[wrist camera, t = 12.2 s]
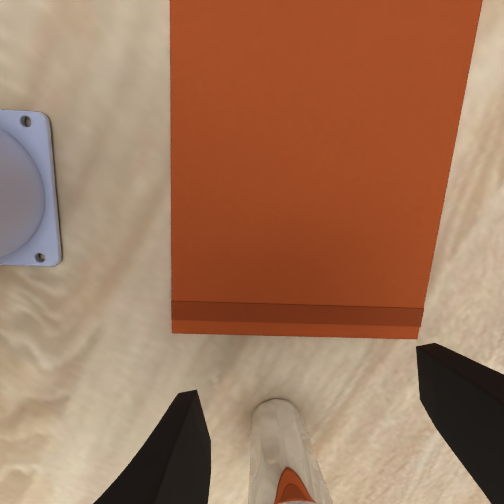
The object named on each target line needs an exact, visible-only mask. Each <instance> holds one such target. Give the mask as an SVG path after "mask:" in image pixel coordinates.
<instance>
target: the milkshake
mask: <svg viewBox="0 0 504 504" xmlns="http://www.w3.org/2000/svg"><path fill="white" fill-rule="evenodd" d="M248 504H333V501H332V499H331V496H330V494H329V491H328V488H327V486H326V483H325V481H324V478H323V475H322V473H321V470H320V467H319V464H318V461H317V459H316V456H315V453H314V450H313V447H312V445H311V442H310V439H309V436H308V433H307V431H306V428H305V425H304V422H303V419H302V417H301V414H300V411H299V410H298V409H297V408H296V407H295V406H294V405H293V404H292V403H291V402H290V401H286V400H279V399H272V400H269V401H267V402H264V403H262V404H260V405H259V406H258V408H257V409H256V411H255V412H254V413H253V415H252V417H251V443H250V473H249V491H248Z"/></svg>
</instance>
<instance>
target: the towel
mask: <svg viewBox="0 0 504 504" xmlns="http://www.w3.org/2000/svg"><path fill="white" fill-rule="evenodd" d="M481 6H482V0H170V65H171V257H172V301H171V308H172V333H184V334H224V335H265V336H305V337H345V338H386V339H417V338H418V333H419V328H420V327H421V322H422V317H423V311H424V308H423V307H424V302H425V297H426V291H427V286H428V281H429V276H430V271H431V265H432V260H433V255H434V250H435V245H436V239H437V234H438V229H439V224H440V219H441V214H442V208H443V203H444V198H445V193H446V188H447V182H448V177H449V172H450V167H451V162H452V156H453V151H454V146H455V141H456V136H457V130H458V125H459V120H460V115H461V110H462V104H463V99H464V94H465V89H466V84H467V78H468V73H469V68H470V63H471V58H472V52H473V47H474V42H475V37H476V32H477V26H478V21H479V16H480V11H481Z"/></svg>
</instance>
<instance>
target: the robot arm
mask: <svg viewBox="0 0 504 504" xmlns="http://www.w3.org/2000/svg"><path fill="white" fill-rule="evenodd" d="M26 117H29V118H30V120H31V125H30V126H29V127H27V126H26V125H25V122H24V120H25V118H26ZM39 253H41V254H43V255H44V257H45V260H41V259H40V258H39V256H38V255H39ZM61 258H62V255H61V244H60V232H59V221H58V210H57V198H56V187H55V176H54V164H53V153H52V142H51V130H50V122H49V119H48V117H47V116H46V115H45V114H44V113H41V112H37V111H22V110H5V109H0V265H15V266H44V267H52V266H55V265H57V264H58V263H60V261H61ZM416 351H417V365H418V378H419V392H420V400H421V402H422V404H423V406H424V408H425V410H426V411H427V413H428V415H429V417H430V418H431V420H432V422H433V424H434V425H435V427H436V429H437V430H438V431H439V433H440V434H441V436H442V437H443V438H444V440H445V441H446V442H447V444H448V445H449V447H450V448H451V449H452V451H453V452H454V453H455V455H456V456H457V457H458V459H459V460H460V461H461V463H462V464H463V465H464V467H465V468H466V469H467V471H468V472H469V473H470V475H471V476H472V477H473V479H474V480H475V482H476V483H477V484H478V486H479V487H480V488H481V490H482V491H483V492H484V494H485V495H486V496H487V498H488V499H489V501H490V502H491V504H504V374H501V373H499V372H497V371H495V370H492V369H490V368H488V367H486V366H484V365H482V364H479V363H477V362H475V361H473V360H471V359H469V358H467V357H465V356H463V355H461V354H458V353H456V352H454V351H452V350H450V349H448V348H446V347H443V346H441V345H439V344H436V343H432V344H427V345H422V346H417V347H416ZM210 477H211V440H210V436H209V432H208V429H207V425H206V421H205V418H204V414H203V410H202V407H201V403H200V399H199V396H198V392H197V390H193V391H187V392H182V393H178V395H177V396H176V397H175V399H174V400H173V402H172V403H171V405H170V406H169V408H168V409H167V411H166V413H165V414H164V416H163V417H162V419H161V420H160V422H159V423H158V425H157V426H156V428H155V429H154V430H153V432H152V433H151V435H150V436H149V438H148V439H147V441H146V442H145V443H144V445H143V446H142V447H141V449H140V450H139V451H138V453H137V454H136V455H135V457H134V458H133V459H132V461H131V462H130V463H129V464H128V466H127V467H126V468H125V469H124V471H123V472H122V473H121V474H120V475H119V476H118V478H117V479H116V480H115V481H114V482H113V483H112V484H111V485H110V487H109V488H108V489H107V490H106V491H105V492H104V493H103V494H102V495H101V496H100V497H99V498H98V499H97V501H95V502H94V503H93V504H208V496H209V486H210Z"/></svg>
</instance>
